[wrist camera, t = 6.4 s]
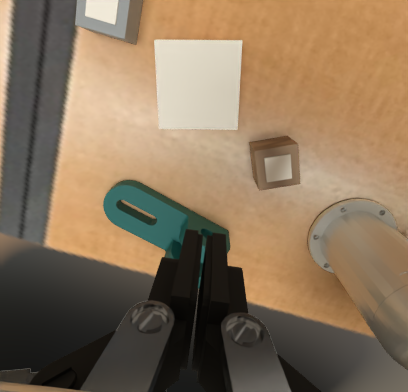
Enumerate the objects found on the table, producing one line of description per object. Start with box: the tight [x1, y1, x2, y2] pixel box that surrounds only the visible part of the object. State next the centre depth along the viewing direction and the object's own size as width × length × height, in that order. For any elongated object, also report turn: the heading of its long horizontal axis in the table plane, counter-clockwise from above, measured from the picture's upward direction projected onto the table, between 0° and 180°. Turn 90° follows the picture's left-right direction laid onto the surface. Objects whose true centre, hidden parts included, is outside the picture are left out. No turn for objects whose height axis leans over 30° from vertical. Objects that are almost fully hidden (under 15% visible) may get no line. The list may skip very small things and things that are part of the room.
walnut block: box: [249, 136, 300, 190], centre depth 36 cm, size 5×5×5 cm
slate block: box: [75, 0, 143, 45], centre depth 30 cm, size 5×5×5 cm
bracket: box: [103, 180, 230, 289], centre depth 39 cm, size 18×7×8 cm, turn 59°
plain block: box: [154, 40, 242, 130], centre depth 33 cm, size 9×9×5 cm
